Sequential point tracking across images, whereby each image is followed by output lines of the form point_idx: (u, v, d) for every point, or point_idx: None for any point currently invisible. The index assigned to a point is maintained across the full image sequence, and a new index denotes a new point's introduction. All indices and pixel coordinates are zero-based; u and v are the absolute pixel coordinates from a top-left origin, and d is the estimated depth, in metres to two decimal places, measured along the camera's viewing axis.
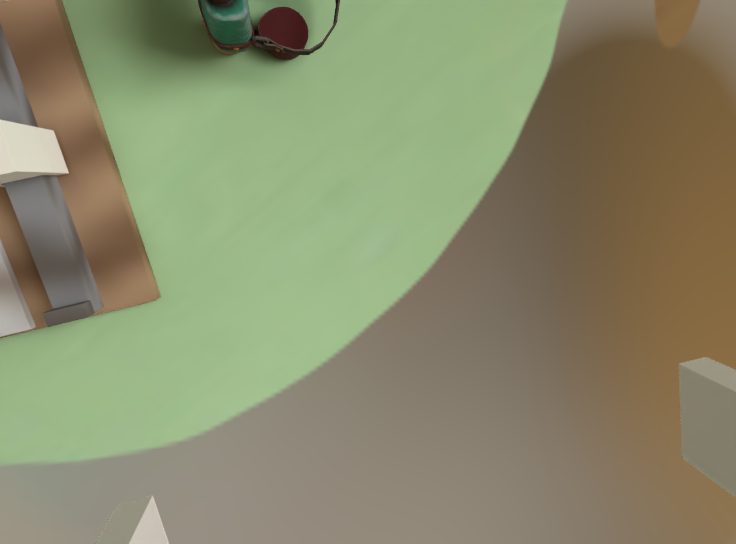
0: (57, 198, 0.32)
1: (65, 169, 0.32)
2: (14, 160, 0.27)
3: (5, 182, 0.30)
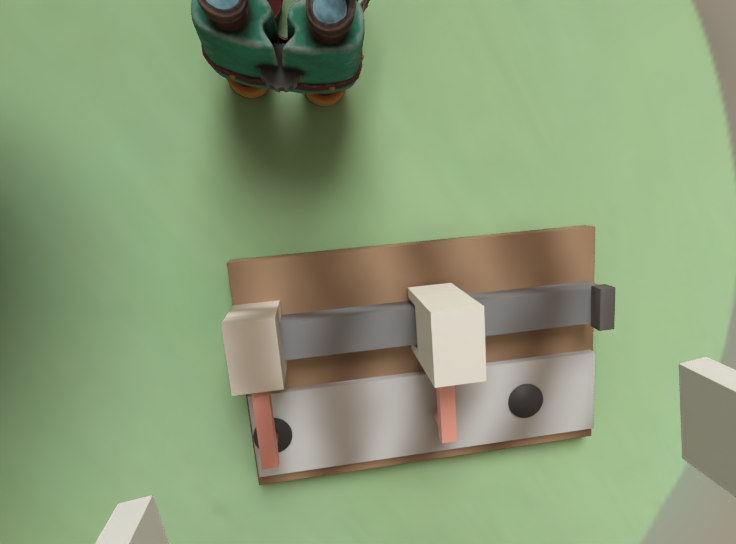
0: (477, 297, 0.30)
1: (448, 284, 0.30)
2: (471, 306, 0.25)
3: None
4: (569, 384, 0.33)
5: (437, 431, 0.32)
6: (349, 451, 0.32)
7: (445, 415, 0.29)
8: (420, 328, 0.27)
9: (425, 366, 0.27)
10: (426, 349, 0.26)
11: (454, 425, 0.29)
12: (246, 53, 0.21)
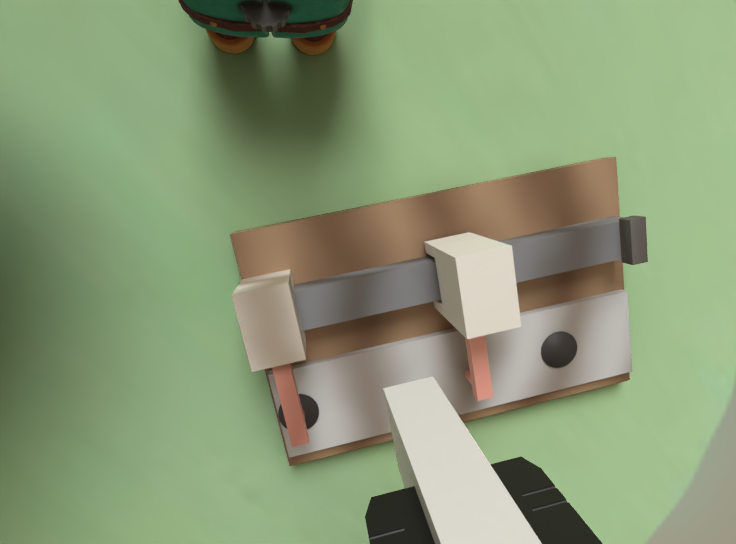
0: None
1: (467, 233, 0.28)
2: (498, 247, 0.23)
3: None
4: (603, 327, 0.31)
5: (470, 391, 0.31)
6: (380, 421, 0.30)
7: (478, 371, 0.27)
8: (443, 280, 0.26)
9: (453, 319, 0.25)
10: (453, 300, 0.25)
11: (488, 380, 0.27)
12: None
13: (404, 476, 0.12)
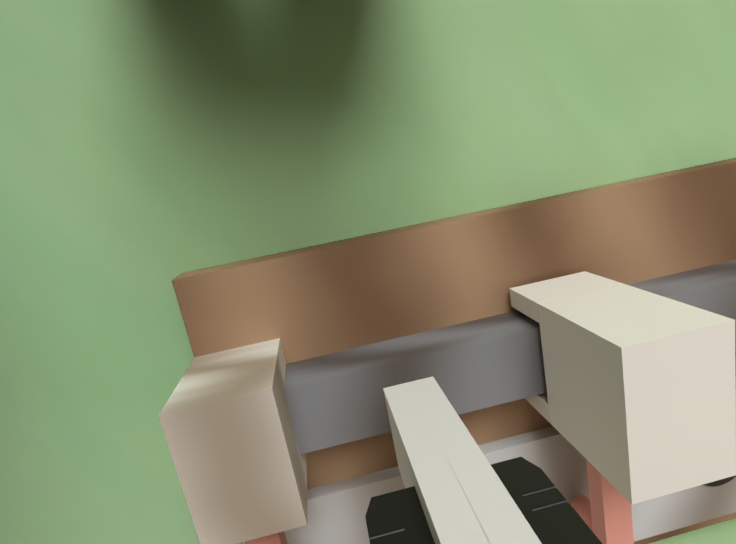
0: None
1: (583, 274, 0.17)
2: (703, 322, 0.11)
3: None
4: None
5: None
6: None
7: (613, 521, 0.15)
8: (563, 370, 0.14)
9: (584, 445, 0.14)
10: (590, 416, 0.13)
11: (628, 535, 0.16)
12: None
13: (404, 476, 0.12)
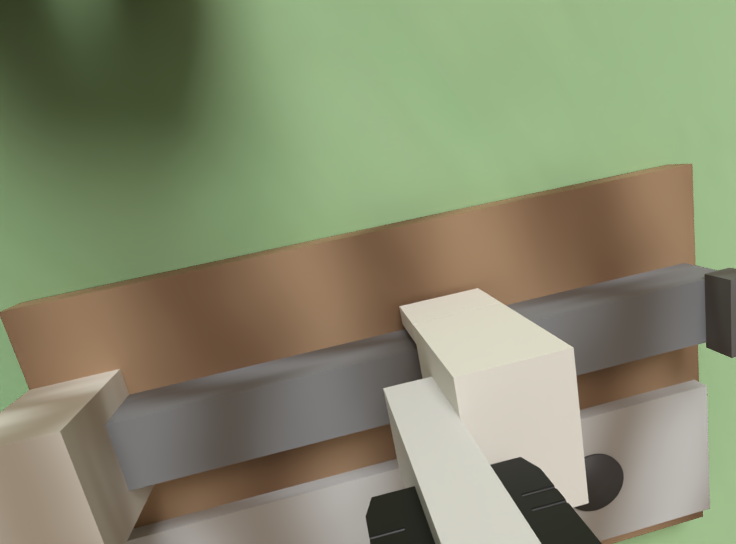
0: None
1: (474, 291, 0.16)
2: (543, 350, 0.11)
3: None
4: (666, 444, 0.19)
5: None
6: None
7: None
8: None
9: None
10: None
11: None
12: None
13: (404, 476, 0.12)
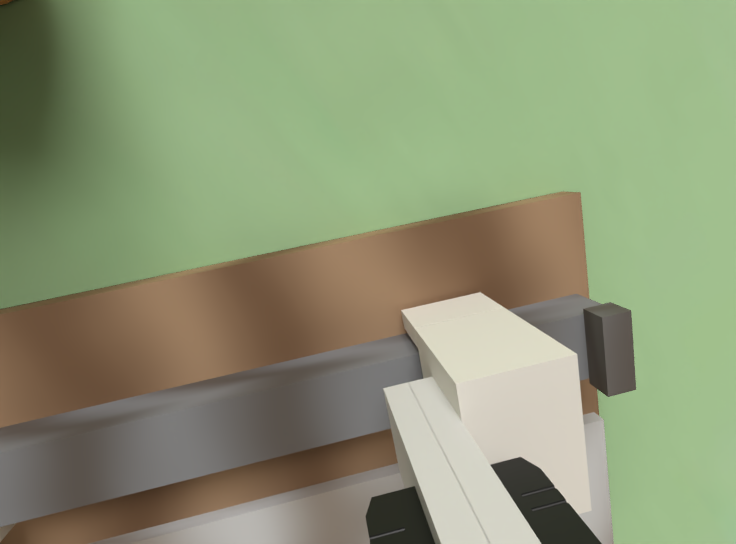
0: (366, 353, 0.16)
1: (476, 295, 0.16)
2: (546, 356, 0.11)
3: None
4: None
5: None
6: None
7: None
8: None
9: None
10: None
11: None
12: None
13: (404, 476, 0.12)
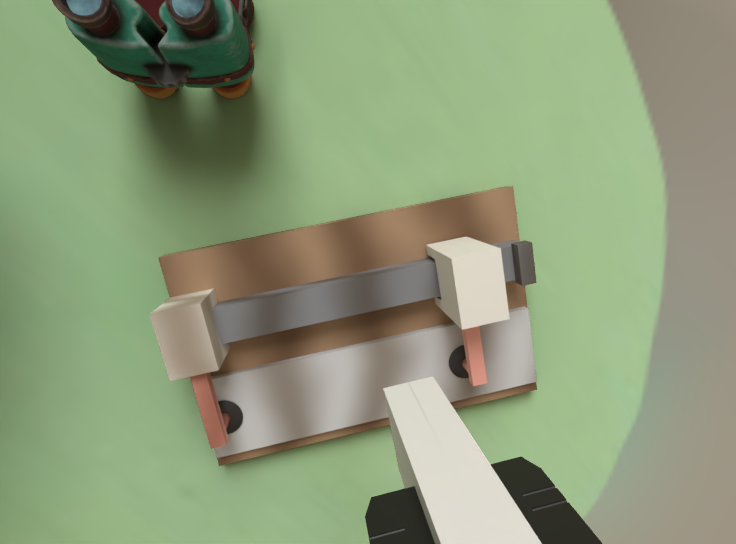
0: (403, 266, 0.31)
1: (464, 237, 0.32)
2: (488, 250, 0.27)
3: None
4: (507, 341, 0.34)
5: (383, 398, 0.34)
6: (299, 426, 0.33)
7: (473, 359, 0.31)
8: (442, 278, 0.29)
9: (450, 313, 0.29)
10: (450, 296, 0.28)
11: (482, 368, 0.31)
12: (127, 55, 0.22)
13: (404, 476, 0.12)
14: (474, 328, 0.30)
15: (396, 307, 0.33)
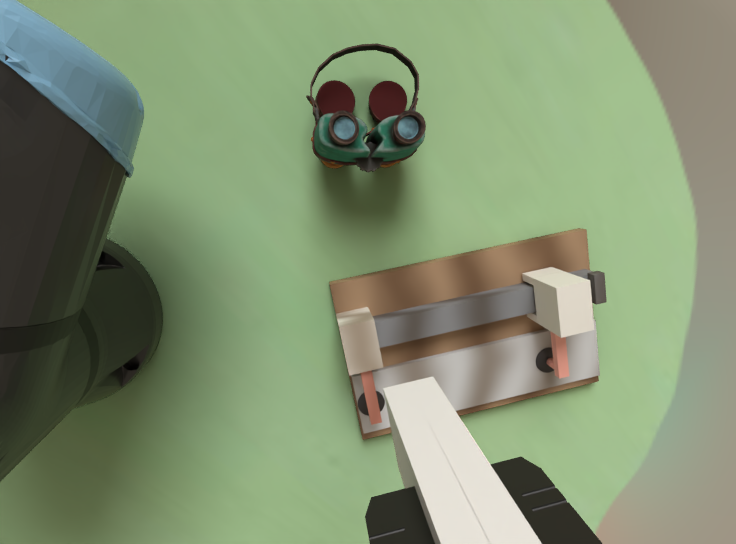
0: (507, 289, 0.42)
1: (550, 268, 0.43)
2: (581, 281, 0.38)
3: None
4: (579, 345, 0.45)
5: (486, 388, 0.44)
6: None
7: (560, 358, 0.42)
8: (541, 300, 0.40)
9: (548, 325, 0.40)
10: (549, 313, 0.39)
11: (566, 365, 0.42)
12: (351, 154, 0.33)
13: (404, 476, 0.12)
14: None
15: None
